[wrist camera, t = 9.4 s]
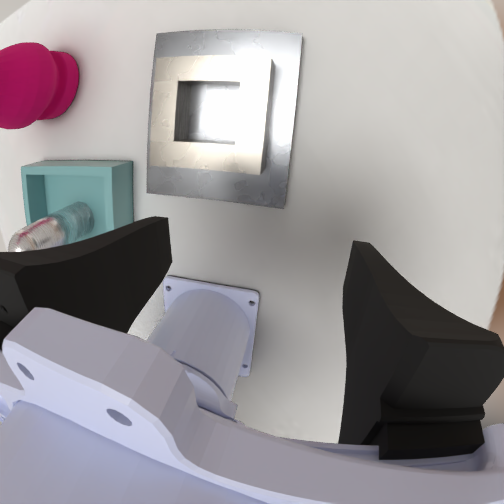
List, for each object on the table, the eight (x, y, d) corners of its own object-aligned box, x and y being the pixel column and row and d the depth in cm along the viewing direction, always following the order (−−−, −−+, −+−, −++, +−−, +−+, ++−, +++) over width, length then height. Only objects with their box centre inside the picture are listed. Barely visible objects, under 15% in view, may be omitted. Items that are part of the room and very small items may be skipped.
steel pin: (94, 237, 25) (29, 282, 17) (69, 230, 25) (5, 271, 17) (93, 204, 23) (22, 242, 16) (68, 199, 24) (-2, 233, 16)
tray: (137, 280, 26) (121, 297, 24) (54, 261, 28) (35, 274, 25) (132, 161, 22) (111, 167, 19) (43, 160, 23) (20, 166, 21)
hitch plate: (284, 205, 22) (280, 219, 19) (152, 190, 23) (130, 201, 20) (302, 37, 17) (301, 21, 14) (162, 36, 18) (140, 25, 15)
